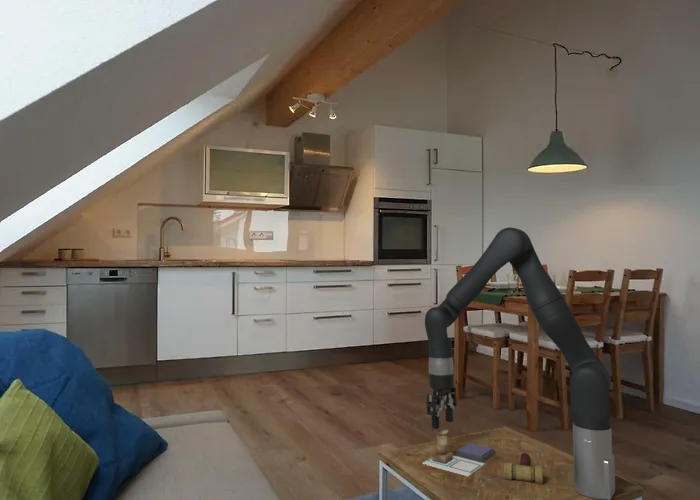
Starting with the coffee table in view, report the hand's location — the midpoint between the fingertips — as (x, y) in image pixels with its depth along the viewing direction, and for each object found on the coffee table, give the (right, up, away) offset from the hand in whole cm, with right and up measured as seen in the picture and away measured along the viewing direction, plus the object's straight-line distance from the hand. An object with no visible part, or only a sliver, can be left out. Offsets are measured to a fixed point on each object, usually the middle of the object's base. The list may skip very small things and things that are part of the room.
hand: (442, 425), depth 154 cm
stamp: (0, -11, 0) cm, 11 cm away
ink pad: (+11, -11, +5) cm, 17 cm away
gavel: (+23, -11, -6) cm, 26 cm away
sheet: (+3, -11, -3) cm, 11 cm away
